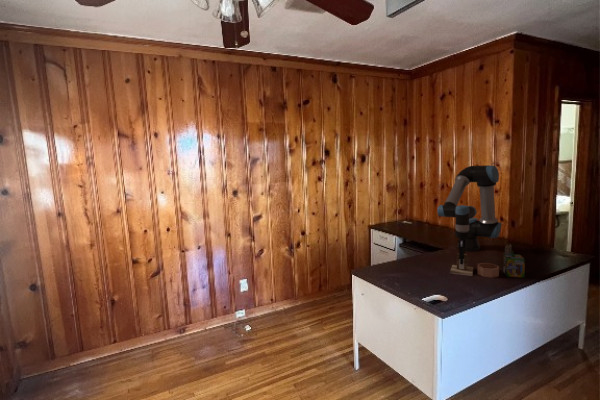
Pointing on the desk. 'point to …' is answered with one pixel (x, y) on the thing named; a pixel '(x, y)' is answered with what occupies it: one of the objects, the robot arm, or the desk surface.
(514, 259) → the green labelled jug
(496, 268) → the bowl
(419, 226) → the desk surface
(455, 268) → the tan wooden stand
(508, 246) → the ruin model on sheet
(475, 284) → the desk surface
